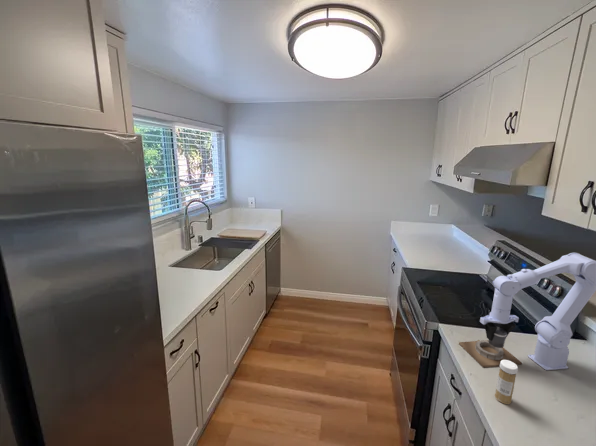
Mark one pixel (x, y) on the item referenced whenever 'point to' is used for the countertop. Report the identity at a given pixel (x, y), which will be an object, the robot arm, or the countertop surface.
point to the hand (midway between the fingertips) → (495, 338)
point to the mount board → (484, 360)
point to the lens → (498, 338)
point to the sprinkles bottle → (506, 381)
